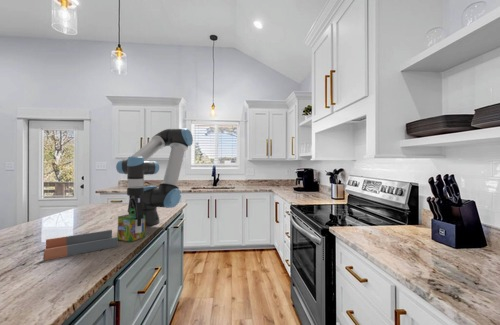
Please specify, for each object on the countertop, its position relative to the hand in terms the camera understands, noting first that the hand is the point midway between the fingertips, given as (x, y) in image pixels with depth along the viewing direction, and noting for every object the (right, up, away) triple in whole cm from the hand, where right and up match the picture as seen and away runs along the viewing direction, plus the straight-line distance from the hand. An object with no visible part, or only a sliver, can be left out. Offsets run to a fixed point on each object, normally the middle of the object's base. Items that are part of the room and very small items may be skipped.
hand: (134, 229), depth 118 cm
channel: (-17, -4, -14) cm, 22 cm away
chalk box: (-1, -5, -1) cm, 5 cm away
